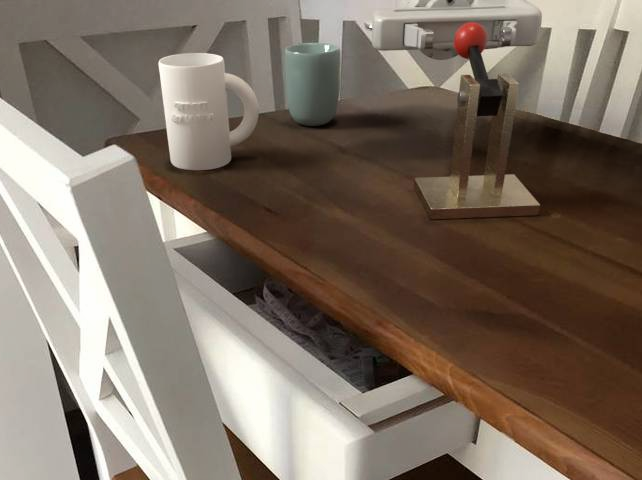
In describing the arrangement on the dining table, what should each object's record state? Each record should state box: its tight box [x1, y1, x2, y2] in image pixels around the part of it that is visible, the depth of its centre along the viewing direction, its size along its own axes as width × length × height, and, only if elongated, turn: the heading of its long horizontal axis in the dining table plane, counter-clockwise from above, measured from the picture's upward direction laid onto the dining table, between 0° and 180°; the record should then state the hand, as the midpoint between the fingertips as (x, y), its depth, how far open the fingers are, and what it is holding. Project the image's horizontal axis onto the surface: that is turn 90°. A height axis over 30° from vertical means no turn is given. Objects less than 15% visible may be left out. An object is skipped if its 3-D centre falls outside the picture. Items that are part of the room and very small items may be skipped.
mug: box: [157, 52, 260, 171], centre depth 93 cm, size 8×12×12 cm
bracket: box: [413, 73, 541, 220], centre depth 80 cm, size 10×12×13 cm
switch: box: [454, 22, 502, 117], centre depth 80 cm, size 13×4×4 cm, turn 4°
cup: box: [284, 42, 342, 127], centre depth 107 cm, size 8×8×10 cm
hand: (468, 39), depth 83 cm, fingers open, 8 cm apart
